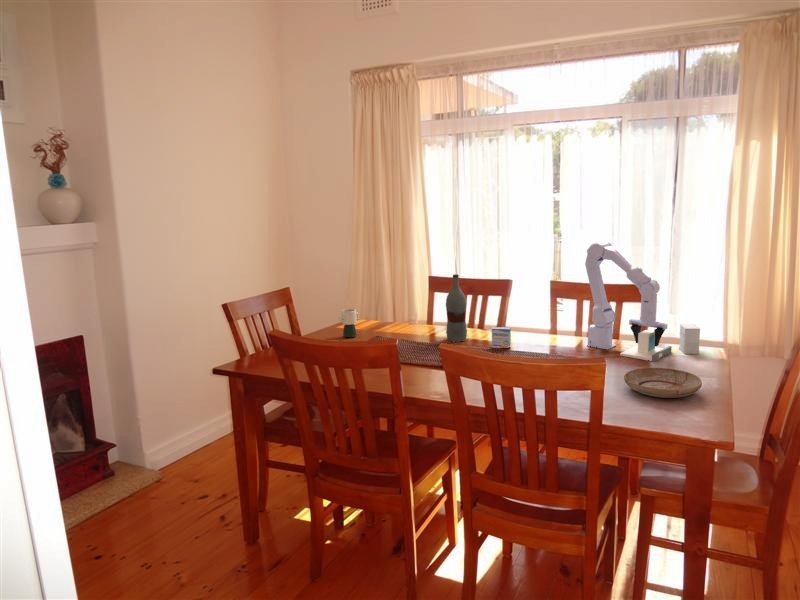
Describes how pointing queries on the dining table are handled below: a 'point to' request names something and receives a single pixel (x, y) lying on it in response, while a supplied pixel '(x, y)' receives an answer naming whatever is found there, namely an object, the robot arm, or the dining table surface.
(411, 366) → the dining table surface
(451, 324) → the bottle
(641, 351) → the carton
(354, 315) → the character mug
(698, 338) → the small box
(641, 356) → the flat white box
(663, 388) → the ceramic bowl
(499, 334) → the medicine box
